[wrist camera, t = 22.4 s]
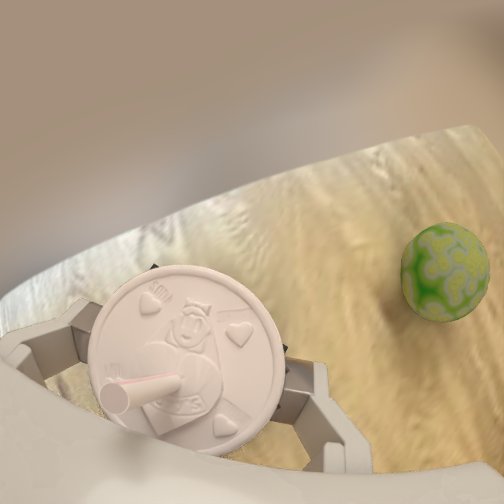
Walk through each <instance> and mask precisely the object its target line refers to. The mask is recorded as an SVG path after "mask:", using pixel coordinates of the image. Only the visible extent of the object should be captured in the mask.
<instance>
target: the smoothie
mask: <svg viewBox="0 0 504 504" xmlns="http://www.w3.org/2000/svg"><path fill="white" fill-rule="evenodd" d="M87 358H88V372H89V378H90V382H91V386H92V389H93V392H94V395H95V397H96V400H97V402H98V404H99V406H100V408H101V409H102V411H103V413H104V414H105V416H106V417H107V419H108V420H110V421H112V422H114V423H117V424H119V425H121V426H124V427H126V428H129V429H131V430H134V431H136V432H139V433H142V434H144V435H147V436H150V437H152V438H155V439H158V440H161V441H164V442H167V443H170V444H173V445H176V446H180V447H183V448H186V449H190V450H193V451H197V452H201V453H204V454H208V455H212V456H216V457H221V456H224V455H226V454H229V453H231V452H233V451H235V450H237V449H239V448H241V447H242V446H244V445H245V444H247V443H248V442H249V441H250V440H252V439H253V438H254V437H255V436H256V435H257V434H258V433H259V432H260V431H261V430H262V429H263V428H264V427H265V425H266V424H267V423H268V421H269V420H270V418H271V417H272V415H273V413H274V411H275V409H276V407H277V405H278V403H279V400H280V397H281V394H282V390H283V385H284V378H285V356H284V350H283V345H282V341H281V338H280V334H279V332H278V329H277V327H276V325H275V323H274V321H273V319H272V317H271V315H270V314H269V312H268V311H267V309H266V308H265V306H264V305H263V304H262V303H261V301H260V300H259V299H258V298H257V297H256V296H255V295H254V294H253V293H252V292H251V291H250V290H248V289H247V288H246V287H245V286H244V285H242V284H241V283H239V282H238V281H236V280H235V279H233V278H231V277H229V276H228V275H225V274H223V273H221V272H219V271H216V270H213V269H210V268H206V267H201V266H195V265H169V266H162V267H158V268H154V269H151V270H148V271H146V272H143V273H141V274H139V275H137V276H135V277H134V278H132V279H130V280H129V281H127V282H126V283H125V284H123V285H122V286H121V287H120V288H119V289H117V290H116V291H115V292H114V293H113V294H112V296H111V297H110V298H109V299H108V300H107V302H106V303H105V304H104V306H103V307H102V309H101V311H100V312H99V314H98V316H97V318H96V320H95V323H94V325H93V328H92V332H91V336H90V339H89V345H88V357H87Z"/></svg>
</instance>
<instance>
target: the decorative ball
mask: <svg viewBox="0 0 504 504" xmlns="http://www.w3.org/2000/svg"><path fill="white" fill-rule="evenodd" d="M489 272H490V263H489V259H488V256H487V252H486V250H485V248H484V246H483V244H482V243H481V241H480V240H479V239H478V237H477V236H476V235H475V234H474V233H472V232H470V231H469V230H467V229H465V228H463V227H461V226H459V225H457V224H454V223H438V224H436V225H433V226H431V227H429V228H427V229H426V230H424V231H422V232H421V233H420V234H418V235H417V236H416V237H415V238H414V239H413V240H412V241H411V242H409V244H408V245H407V247H406V249H405V252H404V253H403V256H402V259H401V285H402V291H403V294H404V296H405V298H406V301H407V303H408V304H409V306H410V307H411V308H412V309H413V310H414V312H415V313H417V314H418V315H420V316H421V317H422V318H424V319H426V320H430V321H435V322H451V321H455V320H458V319H460V318H463V317H464V316H466V315H468V314H469V313H470V312H471V311H473V310H474V309H475V308H476V306H477V305H478V304H479V303H480V301H481V300H482V298H483V297H484V296H485V294H486V292H487V289H488V284H489V281H490V273H489Z"/></svg>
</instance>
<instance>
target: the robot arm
mask: <svg viewBox="0 0 504 504" xmlns="http://www.w3.org/2000/svg"><path fill="white" fill-rule="evenodd" d="M102 307H103V306H102V305H99V304H97V303H94V302H91V301H89V300H86V299H84V298H81V299H78V300H77V301H76V302H75V303H74V304H73V305H72V306H71V307H70V308H69V309H68V310H67V311H66V312H65V313H64V314H63V315H62V316H61V317H60V318H59V319H58V320H57V319H51V320H48V321H45V322H41V323H38V324H34V325H31V326H28V327H24V328H21V329H17V330H14V331H11V332H7V333H6V334H5V335H4V336H3V337H2V338H1V339H0V504H504V477H503V476H501V475H500V474H499V473H498V472H497V471H496V470H495V469H494V468H492V467H491V466H490V465H489V464H487V463H486V462H484V461H474V462H469V463H465V464H460V465H455V466H449V467H442V468H436V469H428V470H420V471H409V472H396V473H375V474H374V472H373V462H372V453H371V444H370V443H369V441H368V440H367V439H366V438H365V437H364V435H363V434H362V433H361V432H360V431H359V429H358V428H357V427H356V426H355V424H354V423H353V422H352V421H351V420H350V418H349V417H348V416H347V415H346V413H345V412H344V411H343V410H342V409H341V407H340V406H339V405H338V404H337V402H336V401H335V400H334V399H331V398H330V396H329V381H328V368H327V365H326V364H325V363H319V362H311V361H306V360H300V359H295V358H289V357H285V378H284V385H283V390H282V394H281V397H280V400H279V403H278V405H277V407H276V409H275V411H274V413H273V415H272V417H271V418H270V421H274V422H279V423H285V424H290V425H293V427H294V429H295V431H296V433H297V435H298V437H299V439H300V440H301V442H302V444H303V446H304V448H305V450H306V451H307V453H308V455H309V457H310V459H311V461H310V462H309V463H308V464H307V466H306V467H305V468H304V469H303V470H302V471H298V470H289V469H281V468H274V467H267V466H261V465H255V464H249V463H244V462H239V461H234V460H230V459H225V458H221V457H216V456H212V455H208V454H204V453H201V452H197V451H193V450H190V449H186V448H183V447H180V446H176V445H173V444H170V443H167V442H164V441H161V440H158V439H155V438H152V437H150V436H147V435H144V434H142V433H139V432H136V431H134V430H131V429H129V428H126V427H124V426H121V425H119V424H117V423H114V422H112V421H110V420H107V419H105V418H103V417H101V416H99V415H96V414H94V413H92V412H90V411H88V410H86V409H84V408H82V407H80V406H78V405H76V404H74V403H72V402H70V401H68V400H67V399H65V398H63V397H61V396H59V395H57V394H56V393H54V392H52V391H50V390H49V389H48V388H47V386H46V384H45V382H44V380H46V379H48V378H49V377H51V376H53V375H55V374H57V373H59V372H61V371H63V370H65V369H67V368H69V367H71V366H73V365H75V364H77V363H79V362H80V361H81V362H83V363H85V364H88V358H87V357H88V345H89V339H90V336H91V332H92V328H93V325H94V323H95V320H96V318H97V316H98V314H99V312H100V311H101V309H102Z"/></svg>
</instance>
